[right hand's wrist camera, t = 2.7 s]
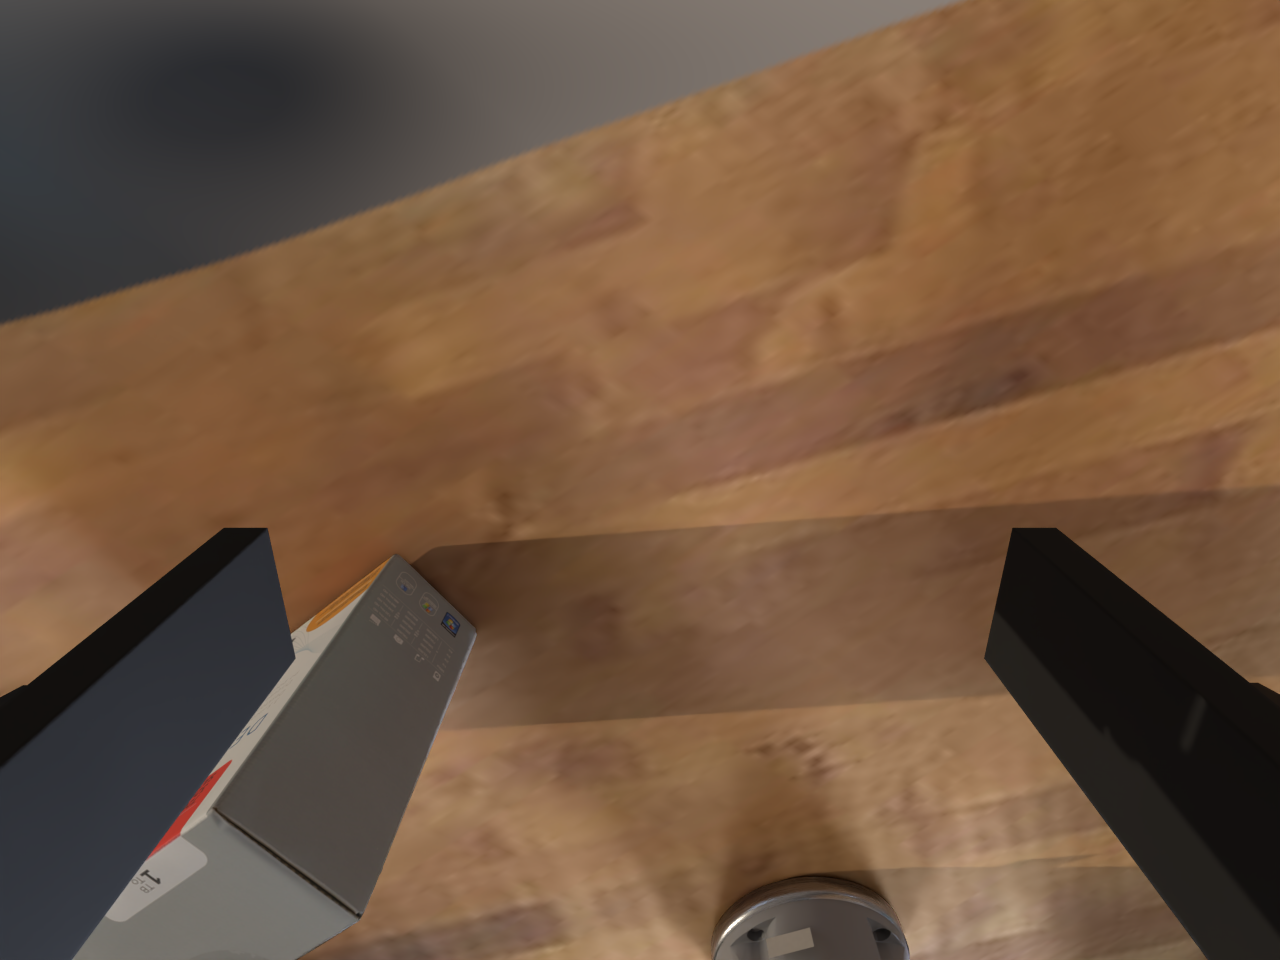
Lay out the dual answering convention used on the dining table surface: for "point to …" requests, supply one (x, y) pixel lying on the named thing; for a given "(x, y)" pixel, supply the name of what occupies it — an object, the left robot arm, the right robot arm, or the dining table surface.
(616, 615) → the dining table surface
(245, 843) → the hard drive box
